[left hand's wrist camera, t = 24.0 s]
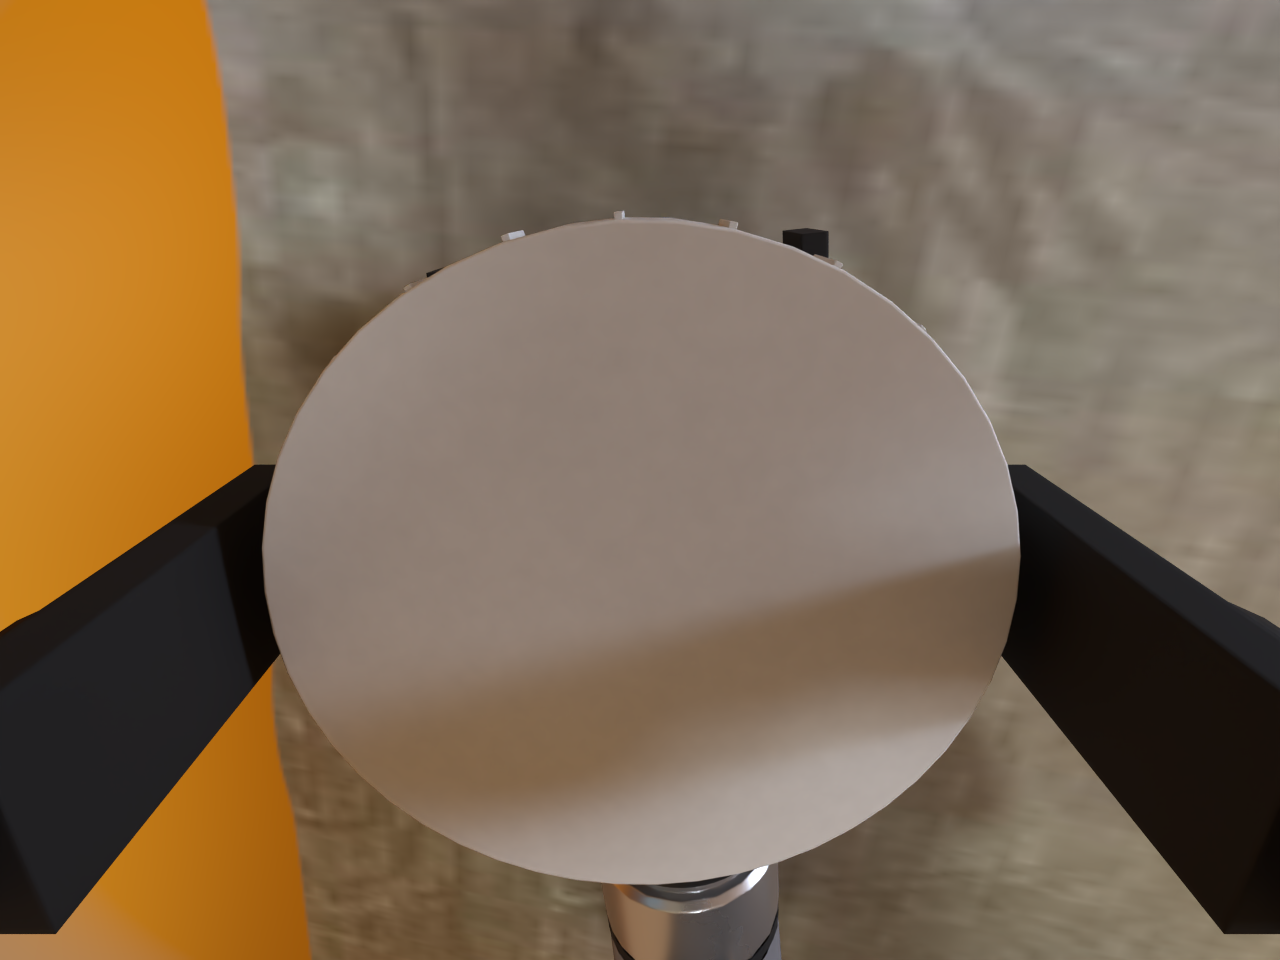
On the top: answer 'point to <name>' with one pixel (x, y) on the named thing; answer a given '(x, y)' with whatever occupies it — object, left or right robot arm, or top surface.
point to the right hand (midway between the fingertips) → (626, 249)
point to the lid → (641, 551)
